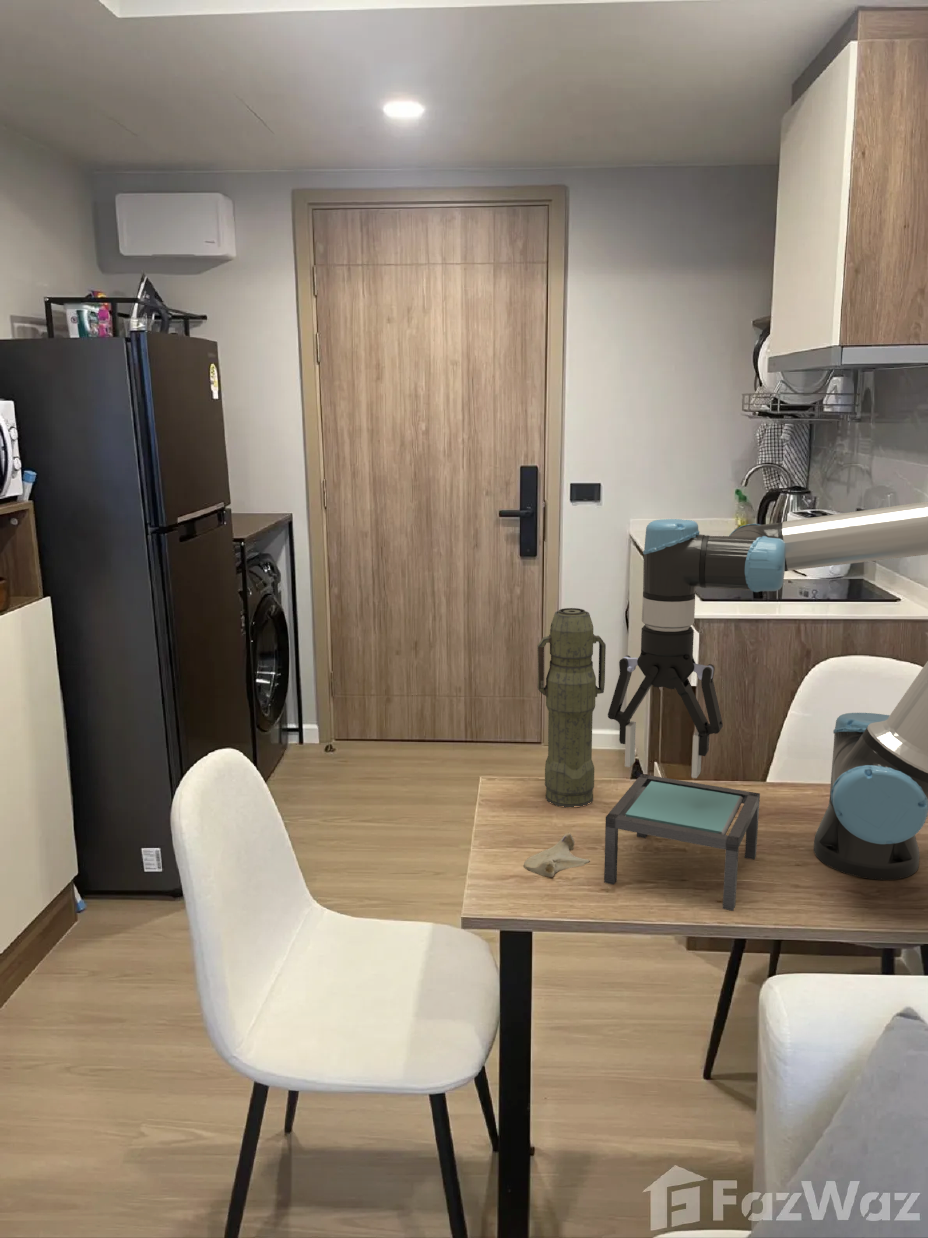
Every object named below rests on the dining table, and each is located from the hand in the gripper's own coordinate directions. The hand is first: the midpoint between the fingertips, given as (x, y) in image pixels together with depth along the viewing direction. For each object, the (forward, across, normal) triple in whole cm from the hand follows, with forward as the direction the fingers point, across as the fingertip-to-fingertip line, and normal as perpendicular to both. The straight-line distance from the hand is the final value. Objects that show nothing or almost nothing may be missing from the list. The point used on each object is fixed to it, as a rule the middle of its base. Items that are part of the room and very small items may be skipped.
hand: (662, 769), depth 140 cm
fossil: (+16, +14, +6) cm, 22 cm away
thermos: (+16, +22, -18) cm, 32 cm away
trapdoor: (+6, -4, 0) cm, 7 cm away
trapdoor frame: (+16, -4, 0) cm, 16 cm away
